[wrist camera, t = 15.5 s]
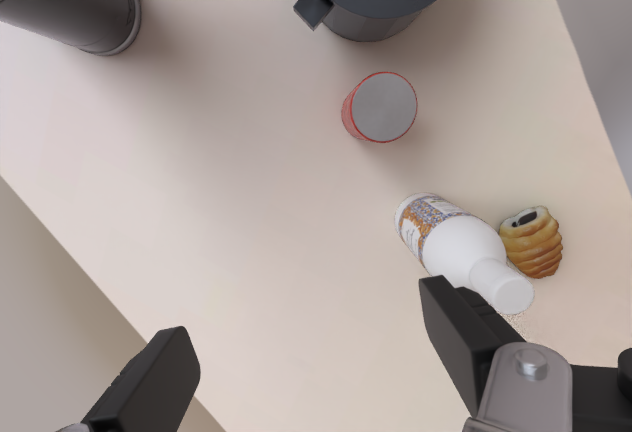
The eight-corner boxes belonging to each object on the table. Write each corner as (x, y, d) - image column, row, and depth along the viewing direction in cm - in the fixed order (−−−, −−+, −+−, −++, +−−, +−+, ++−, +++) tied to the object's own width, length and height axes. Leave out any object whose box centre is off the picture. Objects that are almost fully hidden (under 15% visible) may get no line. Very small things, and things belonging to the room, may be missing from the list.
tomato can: (339, 138, 38) (347, 141, 29) (343, 84, 37) (352, 69, 27) (389, 140, 39) (413, 144, 29) (395, 87, 37) (422, 72, 27)
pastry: (562, 259, 43) (586, 272, 39) (514, 283, 43) (532, 297, 40) (538, 199, 40) (560, 207, 37) (487, 225, 41) (504, 235, 38)
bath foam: (391, 195, 40) (461, 255, 21) (447, 188, 40) (570, 242, 21) (395, 247, 42) (462, 346, 23) (448, 240, 42) (562, 335, 22)
